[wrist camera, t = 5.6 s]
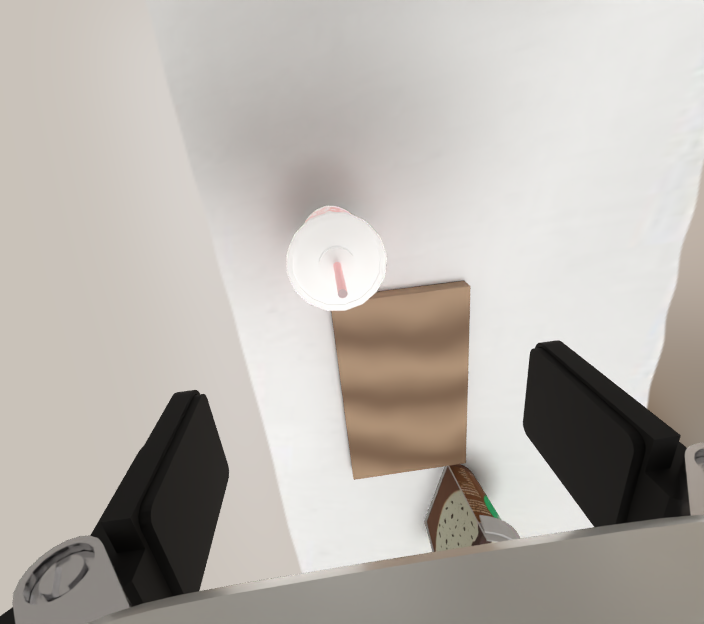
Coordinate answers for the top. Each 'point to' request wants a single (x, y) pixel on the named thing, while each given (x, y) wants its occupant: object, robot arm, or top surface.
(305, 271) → the beverage cup
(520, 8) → the top surface
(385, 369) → the walnut board
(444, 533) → the food container
